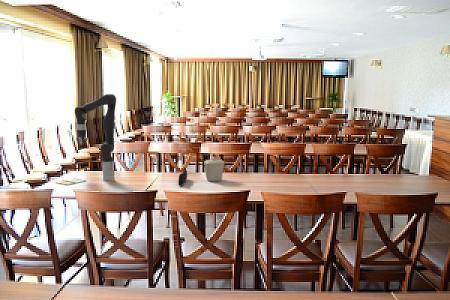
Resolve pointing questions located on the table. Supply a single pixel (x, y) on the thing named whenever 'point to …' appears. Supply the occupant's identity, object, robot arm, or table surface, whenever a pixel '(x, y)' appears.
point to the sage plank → (76, 180)
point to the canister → (214, 169)
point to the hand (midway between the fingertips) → (82, 148)
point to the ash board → (65, 182)
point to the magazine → (182, 177)
